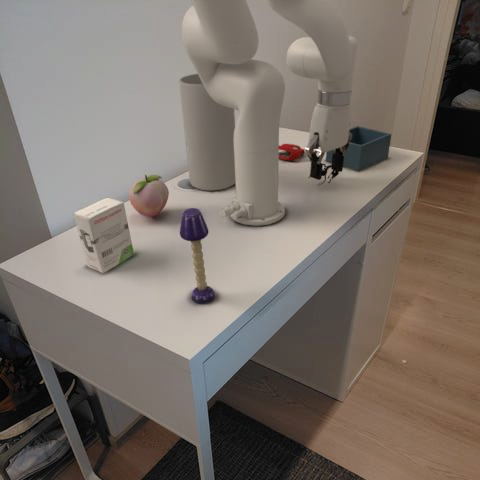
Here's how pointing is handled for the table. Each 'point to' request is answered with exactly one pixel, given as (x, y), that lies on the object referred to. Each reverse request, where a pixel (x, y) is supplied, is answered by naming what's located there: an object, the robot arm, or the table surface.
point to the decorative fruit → (149, 195)
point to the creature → (334, 173)
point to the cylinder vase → (207, 137)
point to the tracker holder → (291, 151)
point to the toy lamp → (197, 251)
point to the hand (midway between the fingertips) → (326, 173)
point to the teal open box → (364, 148)
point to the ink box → (104, 234)
